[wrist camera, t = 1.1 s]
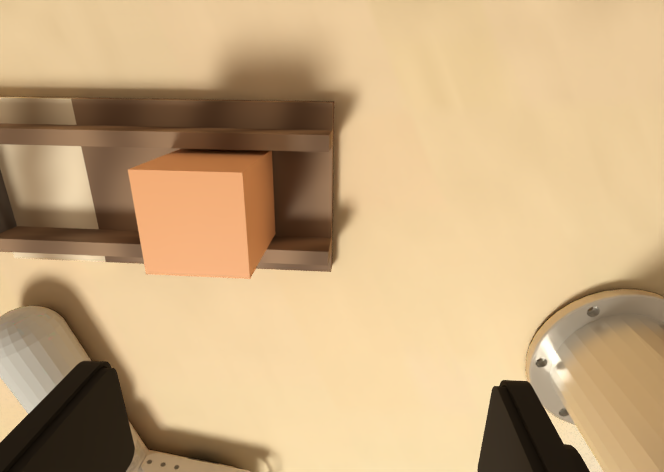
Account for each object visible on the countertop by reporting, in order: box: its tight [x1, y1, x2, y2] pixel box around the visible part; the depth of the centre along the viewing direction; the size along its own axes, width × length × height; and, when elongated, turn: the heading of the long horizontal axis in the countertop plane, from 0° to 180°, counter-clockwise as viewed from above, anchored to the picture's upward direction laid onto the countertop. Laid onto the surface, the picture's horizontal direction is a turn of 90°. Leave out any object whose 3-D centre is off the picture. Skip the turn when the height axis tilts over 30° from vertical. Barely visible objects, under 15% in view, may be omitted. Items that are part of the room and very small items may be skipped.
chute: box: [0, 97, 334, 272], centre depth 28 cm, size 25×12×4 cm, turn 89°
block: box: [128, 149, 276, 279], centre depth 25 cm, size 6×6×7 cm
